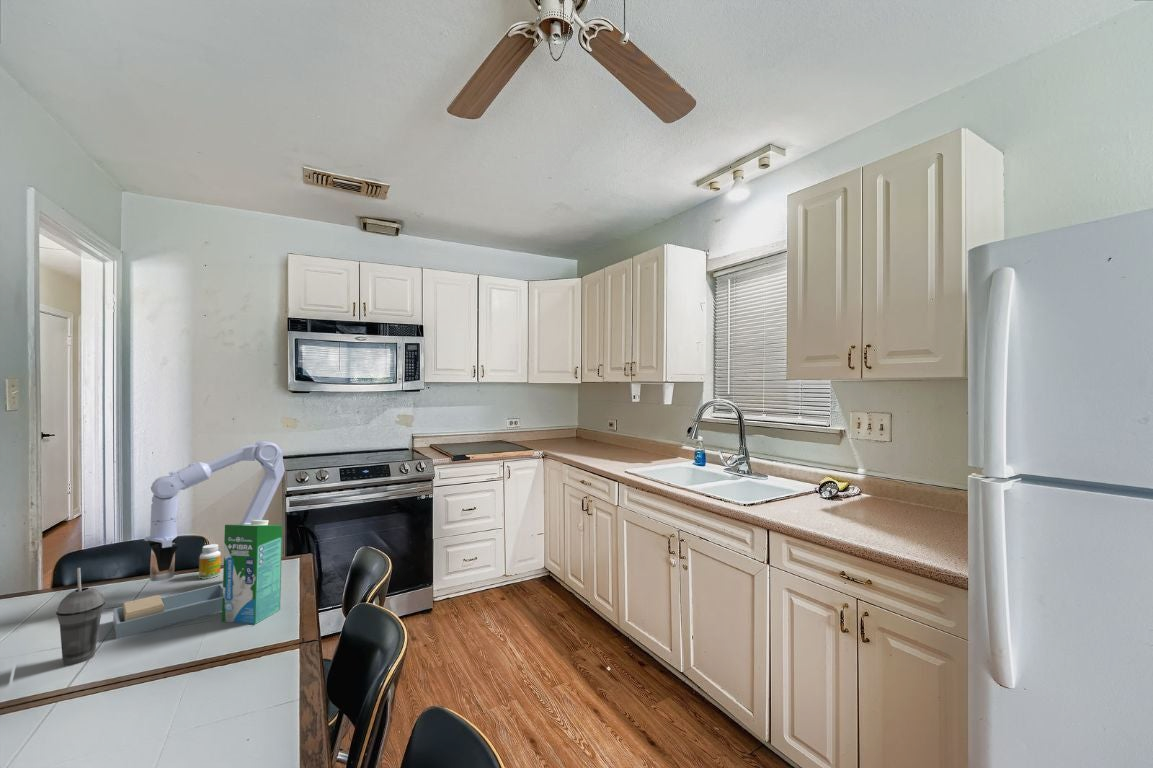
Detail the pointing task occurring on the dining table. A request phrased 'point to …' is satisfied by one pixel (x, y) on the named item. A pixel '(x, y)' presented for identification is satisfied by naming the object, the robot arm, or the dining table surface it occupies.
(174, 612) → the tote
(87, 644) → the beverage cup
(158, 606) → the plain tan box
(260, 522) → the milk carton
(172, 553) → the robot arm
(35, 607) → the dining table surface
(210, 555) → the supplement bottle
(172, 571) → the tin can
